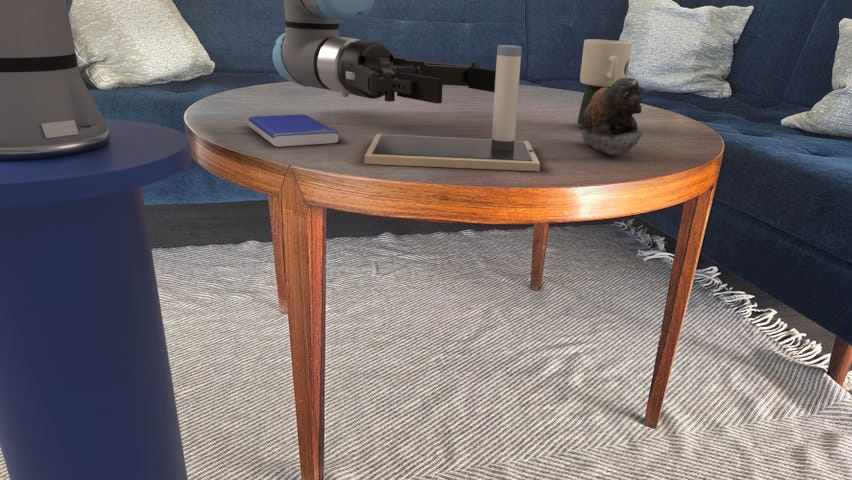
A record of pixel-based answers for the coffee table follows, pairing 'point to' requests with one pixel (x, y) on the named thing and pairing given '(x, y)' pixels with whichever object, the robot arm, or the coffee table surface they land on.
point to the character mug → (602, 67)
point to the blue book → (292, 130)
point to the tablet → (449, 153)
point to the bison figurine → (614, 117)
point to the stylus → (506, 97)
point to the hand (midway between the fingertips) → (477, 87)
